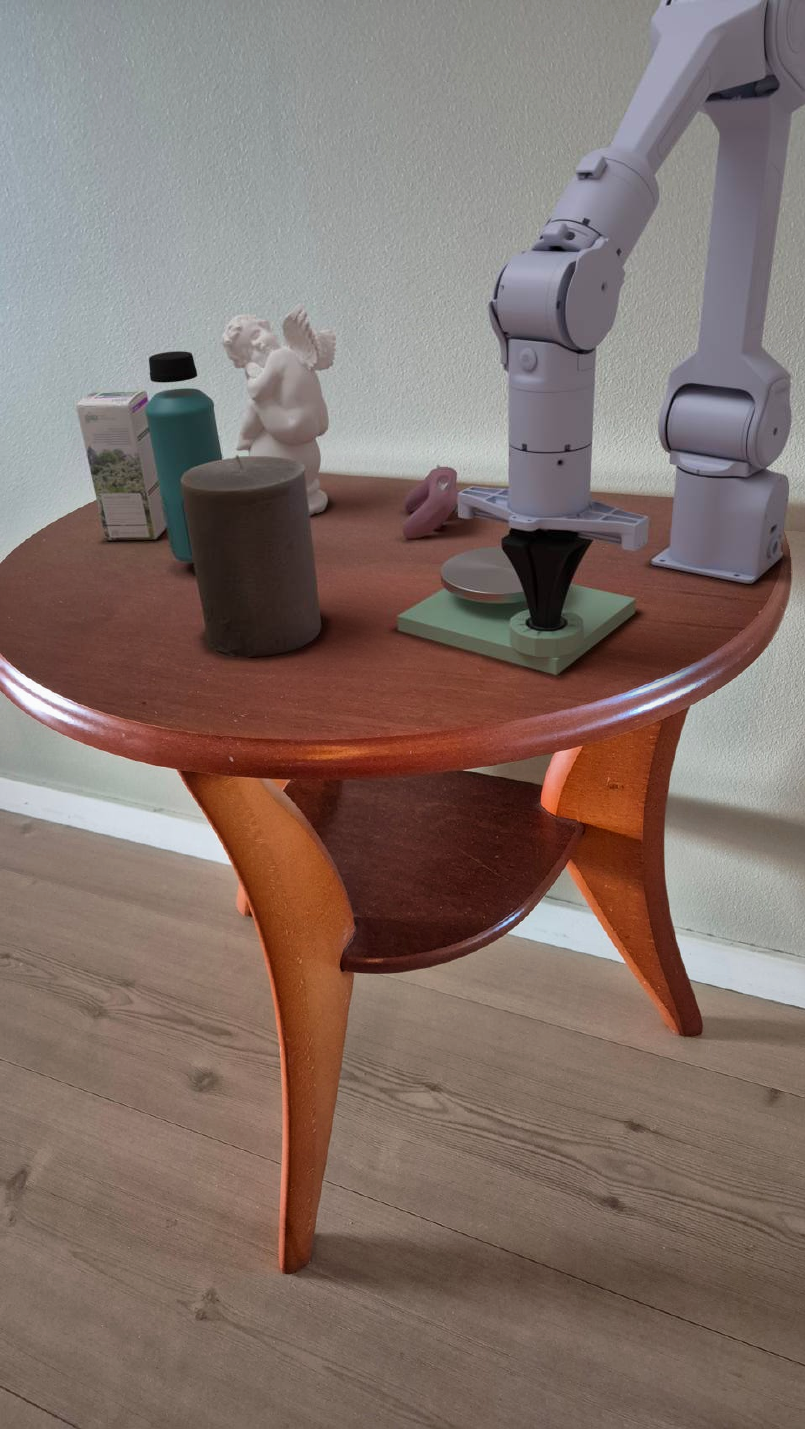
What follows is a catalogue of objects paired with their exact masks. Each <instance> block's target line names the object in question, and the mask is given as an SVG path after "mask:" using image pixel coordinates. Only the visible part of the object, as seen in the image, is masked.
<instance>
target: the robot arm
mask: <svg viewBox="0 0 805 1429" xmlns="http://www.w3.org/2000/svg"><path fill="white" fill-rule="evenodd" d="M649 57H650V61H649V63H648V64H647V67H646V69H645V71H644V73H643V76H642V78H641V80H640V81H639V84H638V85H637V89H636V90H635V92H634V94H633V97H632V99H631V101H630V104H629V105H628V106H627V110H626V111H625V113H624V116H623V117H622V120H621V122H620V124H619V126H618V129H617V131H616V133H615V134H614V138H613V139H612V141H611V144H610V145H609V147H602V148H597V149H594V150H593V151H591V152H589V153H588V154H587V155H585V156H583V157H582V158H581V160H580V161H579V163H578V165H577V167H576V169H575V171H574V172H575V173H573V175H572V178H571V179H570V181H569V183H568V185H567V186H566V188H565V190H564V192H563V193H562V195H561V196H560V198H559V200H558V201H557V203H556V205H555V207H554V209H553V210H552V212H551V214H550V215H549V217H548V219H547V221H546V222H545V224H544V226H543V227H542V230H540V233H539V235H538V236H537V238H536V239H535V241H534V243H533V244H532V246H531V249H529V250H527V249H526V250H522V251H521V253H516V254H515V255H514V256H513V257H511V259H510V260H508V261H507V262H506V263H505V264H504V265H503V266H502V268H501V269H500V271H499V273H498V274H497V277H496V280H495V282H494V286H493V289H492V290H493V291H492V299H491V300H489V301H488V302H487V303H488V304H487V309H488V317H489V322H490V325H491V328H492V330H493V332H494V334H495V336H496V337H497V339H498V340H497V341H498V343H499V348H500V364H501V365H502V367H503V370H504V371H506V373H508V374H507V375H508V378H507V379H508V382H507V384H508V388H507V389H508V398H507V399H508V402H507V403H508V406H507V407H508V411H507V413H508V414H507V416H508V418H507V420H508V428H507V431H508V436H507V439H508V440H507V441H508V442H507V443H508V488H493V487H481V486H475V485H472V486H468V488H465V489H462V490H461V491H460V492H459V491H458V495H457V503H458V511H457V517H458V518H460V519H464V520H471V519H474V518H477V519H483V520H488V521H492V522H498V523H503V524H508V526H509V527H508V528H510V529H509V530H508V534H506V535H505V536H503V537H502V538H501V540H500V542H501V546H502V550H503V551H504V553H505V554H506V556H507V557H508V559H509V560H510V562H511V564H512V566H513V567H514V569H515V571H516V573H517V576H518V578H519V580H520V583H521V585H522V588H523V591H524V594H525V598H526V601H527V605H528V608H529V612H530V617H531V621H532V624H533V625H536V626H540V627H544V628H549V627H550V626H552V625H553V624H555V623H556V622H557V621H559V620H560V619H561V614H562V610H563V606H564V602H565V599H566V595H567V592H568V589H569V587H570V584H572V581H573V579H574V576H575V574H576V572H577V569H578V568H579V565H581V562H582V560H583V558H584V556H585V555H586V553H587V551H588V549H589V548H590V547H591V545H592V543H593V542H594V541H596V542H601V543H607V544H613V545H617V546H621V550H623V551H627V552H632V553H634V552H636V551H638V550H639V549H641V548H643V547H644V546H645V545H646V544H648V537H649V524H650V516H648V515H644V514H638V513H634V512H630V511H627V510H625V509H621V508H620V507H616V506H613V505H611V504H607V503H605V502H601V501H598V500H596V499H593V498H591V481H592V480H591V479H592V457H593V456H592V455H593V437H594V436H593V432H594V412H595V410H594V409H595V390H596V389H595V387H596V363H597V362H596V361H597V360H596V359H597V347H598V346H599V345H600V344H601V343H602V342H603V341H604V339H605V338H606V337H607V335H608V333H609V332H610V331H611V330H612V328H613V326H614V323H615V320H616V318H617V313H618V307H619V299H620V292H621V290H622V287H623V285H624V284H625V279H624V278H625V277H626V271H625V268H624V266H625V264H626V262H627V260H628V258H629V257H630V255H631V253H632V252H633V250H634V248H635V246H636V245H637V243H638V241H639V239H640V238H641V237H642V236H641V235H642V234H643V232H644V231H645V228H646V227H647V225H648V223H649V222H650V220H651V218H652V216H653V214H654V213H655V211H656V209H657V207H658V204H659V201H660V186H659V184H658V183H659V182H658V180H657V178H656V174H657V173H658V171H659V170H660V168H661V167H662V165H663V164H664V162H665V161H666V160H667V157H668V156H669V155H670V154H671V152H672V151H673V150H674V148H675V146H676V145H677V143H678V142H679V140H680V139H681V137H682V136H683V135H684V133H685V131H686V130H687V128H688V127H689V125H690V124H691V122H693V120H694V119H695V116H696V115H697V114H698V113H701V114H704V115H707V116H708V117H709V119H710V121H712V124H713V125H714V126H715V128H716V130H717V132H718V145H717V146H718V148H717V158H716V167H715V176H714V186H713V195H712V196H713V197H712V205H711V206H712V207H711V215H710V225H709V227H710V228H709V234H708V244H707V245H708V246H707V254H706V264H705V272H704V273H705V275H704V285H703V291H702V292H703V293H702V303H701V312H700V324H699V333H698V342H697V350H696V351H694V352H693V353H691V354H690V355H689V356H688V357H686V358H684V359H683V360H682V361H680V362H679V363H678V364H677V365H675V367H673V368H672V370H671V371H670V372H669V376H668V383H667V387H666V388H667V389H666V392H665V396H664V400H663V401H662V404H661V407H660V409H659V414H658V420H657V433H658V434H657V435H658V438H659V441H660V444H661V447H662V449H663V450H664V451H665V452H666V453H667V454H669V461H668V463H669V464H670V465H672V466H673V465H674V466H676V468H675V479H674V490H673V491H674V492H673V502H672V515H671V526H670V539H669V546H668V547H667V548H665V549H664V550H663V551H660V553H659V554H657V555H656V556H654V557H653V558H652V559H651V564H652V565H653V566H656V567H662V568H666V569H671V570H675V571H682V572H687V573H691V574H696V575H700V576H705V577H711V578H715V579H720V580H726V581H730V582H731V581H732V582H737V583H741V584H745V585H746V584H747V585H751V584H753V583H755V582H756V581H757V580H758V579H759V578H760V577H761V576H763V575H764V574H765V573H766V572H767V571H768V570H769V569H771V567H773V566H774V565H775V564H776V563H777V562H778V561H779V560H780V559H781V558H782V557H783V554H784V552H783V551H782V544H783V539H784V532H785V525H786V517H787V510H788V503H789V497H790V481H789V478H788V475H786V474H784V473H781V472H775V471H773V470H770V469H768V468H769V467H770V466H771V465H773V463H774V462H776V461H777V459H778V458H779V457H780V456H781V454H782V453H783V451H784V449H785V447H786V444H787V442H788V440H789V436H790V432H791V427H792V417H793V416H792V407H791V384H792V383H791V382H792V381H791V378H792V377H791V376H792V375H791V373H790V372H789V371H788V370H787V369H786V367H784V366H783V365H782V364H780V363H779V361H777V360H776V359H775V358H774V357H773V356H772V355H771V354H770V353H769V352H768V351H767V350H766V349H765V348H764V347H763V345H762V344H763V336H764V329H765V323H766V313H767V307H768V298H769V293H770V292H769V291H770V285H771V284H770V283H771V277H772V276H771V275H772V269H773V260H774V253H775V248H776V247H775V246H776V240H777V239H776V238H777V231H778V223H779V216H780V210H781V209H780V207H781V202H782V201H781V200H782V194H783V185H784V177H785V170H786V164H787V156H788V155H787V154H788V147H789V140H790V133H791V126H792V117H793V113H794V112H795V111H797V110H799V109H800V108H802V107H803V106H804V105H805V0H661V1H660V3H659V5H658V8H657V10H656V11H655V13H654V14H653V15H652V16H651V19H650V26H649Z"/></svg>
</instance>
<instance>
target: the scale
mask: <svg viewBox="0 0 805 1429" xmlns="http://www.w3.org/2000/svg"><path fill="white" fill-rule="evenodd" d="M636 606H637V598H636V597H631V596H627V595H623V594H619V593H615V592H614V593H613V592H610V591H605V590H601V589H595V588H591V587H587V586H583V585H579V584H574V583H571V584H570V587H569V589H568V592H567V595H566V599H565V602H564V606H563V610H562V614H561V618H562V619H563V621H564V628H563V629H561V630H557V631H553V632H542V631H536V630H532V629H530V628H529V621H530V619H531V617H530V612H529V608H528V605H527V601H524V602H516V603H485V602H477V601H472V600H467V599H464V598H461V597H458V596H456V595H454V594H452V593H450V592H448V591H447V590H446V589H445V588H444V587H443V588H442V589H440V590H438V591H436V593H434V594H431V595H430V596H429V597H426V598H425V599H423V600H422V601H420V602H418V603H417V604H415V605H413V606H411V607H409V608H408V609H406V610H404V611H403V612H401V613H399V614H398V615H397V616H396V618H397V620H396V621H397V630H398V631H399V632H403V633H407V634H409V635H414V636H417V637H420V638H423V639H427V640H431V641H434V642H438V643H441V644H445V645H447V646H451V647H452V646H453V647H456V648H459V649H463V650H466V651H469V652H473V653H476V654H479V655H483V656H488V657H490V658H495V659H497V660H501V661H504V662H505V661H506V662H508V663H512V664H516V665H520V666H522V667H526V668H530V669H533V670H535V671H536V670H537V671H539V672H544V673H547V674H551V675H555V676H557V675H559V674H560V673H562V671H564V670H565V669H566V668H568V667H569V666H570V665H571V664H572V663H574V662H575V661H576V660H577V659H578V658H580V657H581V656H582V655H584V654H586V653H587V651H589V650H590V649H591V648H592V647H594V646H595V645H596V644H598V643H599V642H600V641H602V640H603V639H604V638H606V637H607V636H608V635H609V634H610V633H612V632H613V631H614V630H616V629H617V628H619V626H620V625H622V624H623V623H624V622H626V621H627V620H628V619H630V618H631V617H632V616H633V615H634V614H636Z"/></svg>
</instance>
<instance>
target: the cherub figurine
mask: <svg viewBox="0 0 805 1429" xmlns="http://www.w3.org/2000/svg"><path fill="white" fill-rule="evenodd" d="M302 303H303V302H302V301H300V302H298V304H297V305H295V306H294V307H293V308H292V309H291V311H290V312H289V313H287V314H285V316H284V317H283V320H282V323H281V329H282V335H283V336H282V337H284V338H283V339H282V340H279V337H278V336H277V335H276V334H275V332H274V330H273V328H272V327H271V326H270V323H269V321H268V320H267V319H262V318H260V317H259V316H258V314H257V313H256V314H252V315H251V314H249V313H247V314H237V315H236V316H234V317H233V318H231V320H229V322H228V323H227V324H225V326H224V329H225V330H224V332H223V333H222V334H221V336H220V337H221V340H220V342H221V344H222V346H223V348H224V350H225V352H226V355H227V358H228V359H229V360H231V361H232V364H233V366H234V368H235V369H244V375H245V378H246V380H247V386H246V389H247V392H248V395H249V397H250V398H249V399H248V400H249V401H248V405H247V409H246V411H245V413H244V417H243V420H242V424H241V426H240V430H239V435H238V438H237V443H236V448H235V449H236V451H238V452H240V451H241V452H242V451H247V452H248V456H271V457H282V458H288V459H291V460H296V461H297V462H298V463H300V464H303V465H305V467H306V468H305V469H306V471H305V481H306V489H307V499H308V506H309V515H310V516H312V515H314V514H319V513H320V512H321V513H322V512H324V510H326V507H327V505H328V502H329V498H328V494H327V493H326V492H325V491H323V490H321V489H320V487H321V482H320V480H319V478H317V476H318V475H319V471H320V468H321V462H322V458H321V450H320V446H319V443H318V442H317V437H322V436H323V435H325V434H326V433H327V431H328V430H329V424H330V421H329V420H330V419H329V418H330V417H329V411H328V407H327V403H326V401H325V399H324V397H323V396H324V395H323V391H322V385H321V382H320V379H319V377H318V376H319V375H318V374H317V372H316V371H319V372H321V371H326V370H329V369H330V367H333V366H334V360H335V355H336V353H335V352H336V345H337V343H336V336H335V334H332V333H333V331H332V330H331V329H330V328H325V329H323V330H319V329H316V328H313V327H311V326H310V325H311V323H310V321H309V319H308V318H307V317H308V313H307V310H305V309H304V310H303V304H302ZM281 342H284V343H285V345H287V346H285V345H282V344H281Z"/></svg>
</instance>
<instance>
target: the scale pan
mask: <svg viewBox="0 0 805 1429" xmlns="http://www.w3.org/2000/svg"><path fill="white" fill-rule="evenodd" d="M439 574H440V584H441V585H442V587H443V589H444V588H445V589H446V590H447V591H448V592H450V593H452V594H454V595H456V596H458V597H461V598H464V599H467V600H472V601H477V602H485V603H516V602H524V601H526V598H525V594H524V591H523V588H522V585H521V583H520V580H519V578H518V576H517V573H516V571H515V569H514V567H513V566H512V564H511V562H510V560H509V559H508V557H507V556H506V554H505V553H504V551H503V550H502V545H501V546H500V545H499V546H488V547H480V548H475V549H470V550H466V551H463V552H460V553H458V554H456V555H454V556H451V557H450V558H449V559H447V560H445V562H444V563H442V566H441V568H440V573H439Z"/></svg>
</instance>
